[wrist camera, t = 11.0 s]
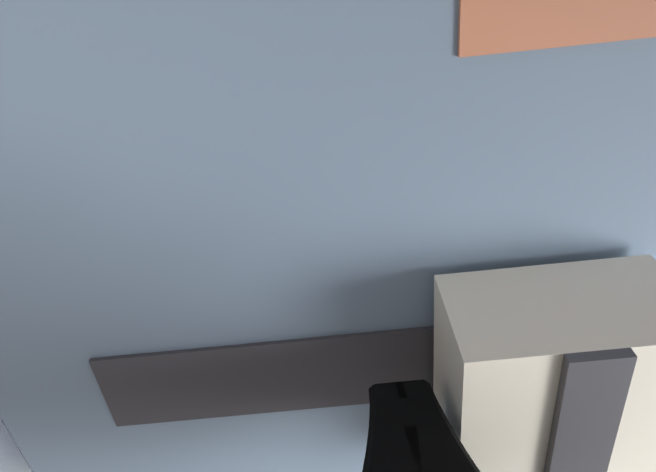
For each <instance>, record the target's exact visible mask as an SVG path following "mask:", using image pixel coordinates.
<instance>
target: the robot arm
mask: <svg viewBox="0 0 656 472" xmlns="http://www.w3.org/2000/svg"><path fill="white" fill-rule="evenodd" d="M369 402H370V409H369V428H368V437H367V446H366V453H365V459H364V464H363V470H362V472H480V470H479V469H478V467H477V466H476V464H475V463H474V461H473V460H472V458H471V457H470V455H469V454H468V452H467V451H466V449H465V447H464V446H463V444H462V443H461V441H460V439H459V438H458V436H457V434H456V433H455V431H454V429H453V428H452V426H451V424H450V422H449V421H448V419H447V417H446V415H445V414H444V412H443V410H442V408H441V406H440V404H439V402H438V400H437V398H436V396H435V394H434V392H433V390H432V387H431V385H430V383H428V382H427V381H426V380H424V379H422V380H412V381H401V382H390V383H379V384H374V385H372V386H371V387H370V388H369Z"/></svg>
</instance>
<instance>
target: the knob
mask: <svg viewBox="0 0 656 472" xmlns="http://www.w3.org/2000/svg"><path fill="white" fill-rule="evenodd" d="M433 392H434V394H435V396H436V398H437V400H438V402H439V404H440V406H441V408H442V410H443V412H444V414H445V415H446V417H447V419H448V421H449V422H450V424H451V426H452V428H453V429H454V431H455V433H456V434H457V436H458V438H459V439H460V441H461V443H462V444H463V446H464V447H465V449H466V451H467V452H468V454H469V455H470V457H471V458H472V460H473V461H474V463H475V464H476V466H477V467H478V469H479V470H480V472H656V260H655V259H654V258H653V257H652V256H651V255H650V254H648V255H637V256H627V257H616V258H606V259H596V260H585V261H575V262H565V263H554V264H544V265H533V266H523V267H513V268H502V269H492V270H482V271H471V272H461V273H450V274H440V275H434V368H433Z"/></svg>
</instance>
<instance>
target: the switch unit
mask: <svg viewBox="0 0 656 472" xmlns="http://www.w3.org/2000/svg"><path fill="white" fill-rule="evenodd" d="M648 254H650V255H651V256H652V257H653V258H654V259H655V260H656V0H0V418H1V419H2V421H3V423H4V424H5V426H6V428H7V429H8V431H9V433H10V435H11V436H12V438H13V440H14V441H15V443H16V445H17V446H18V448H19V450H20V452H21V453H22V455H23V457H24V458H25V460H26V462H27V463H28V465H29V467H30V468H31V470H32V472H362V470H363V464H364V459H365V453H366V446H367V437H368V428H369V409H370V402H369V388H370V387H371V386H372V385H374V384H379V383H390V382H401V381H412V380H422V379H424V380H426V381H427V382H428V383H430V385H431V387H432V390H433V368H434V275H440V274H450V273H461V272H471V271H482V270H492V269H502V268H513V267H523V266H533V265H544V264H554V263H565V262H575V261H585V260H596V259H606V258H616V257H627V256H637V255H648Z"/></svg>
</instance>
